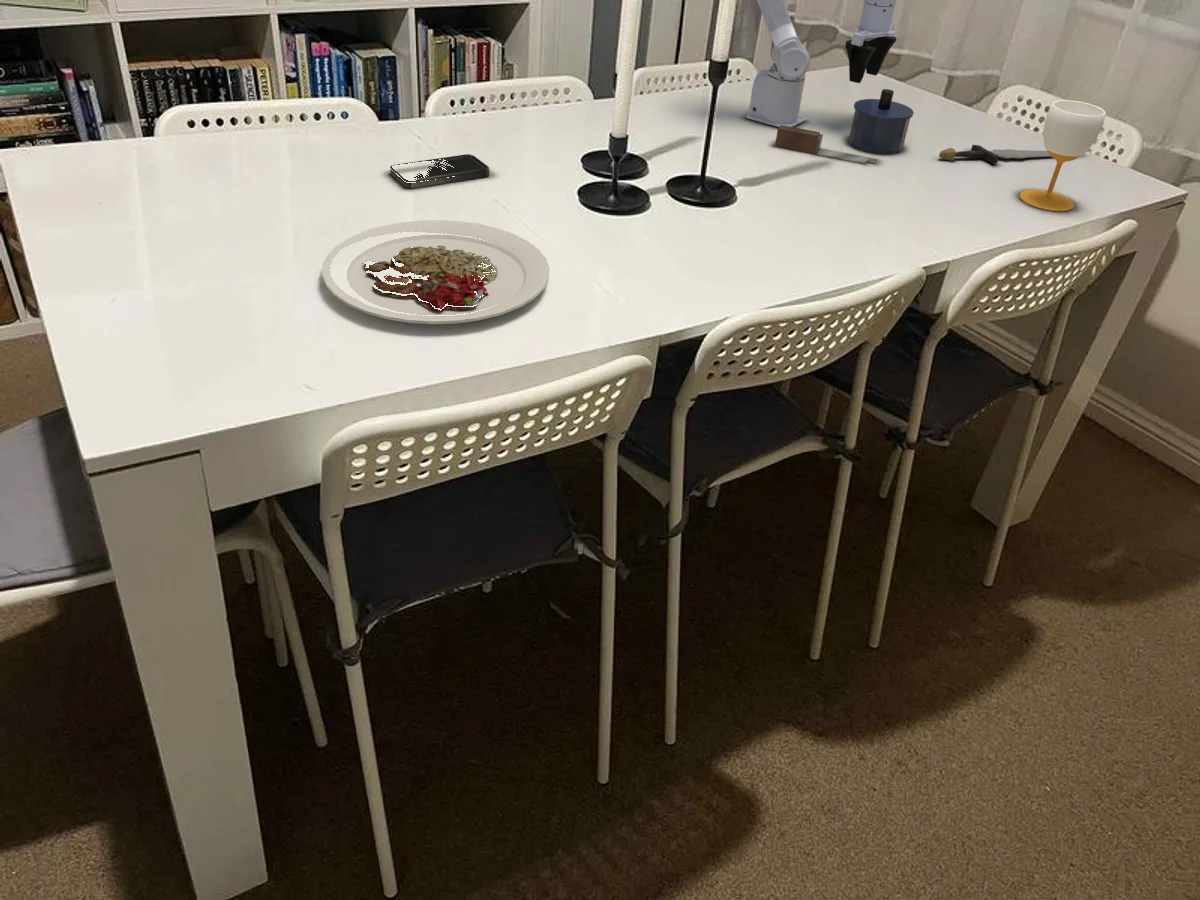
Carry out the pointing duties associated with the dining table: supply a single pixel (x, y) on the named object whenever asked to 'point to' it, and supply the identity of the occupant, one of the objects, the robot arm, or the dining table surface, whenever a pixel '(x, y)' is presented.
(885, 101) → the pot lid
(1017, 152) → the dagger
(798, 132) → the knife
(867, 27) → the robot arm
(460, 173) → the phone
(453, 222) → the plated food
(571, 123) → the dining table surface
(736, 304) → the dining table surface
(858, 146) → the pot
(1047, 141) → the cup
